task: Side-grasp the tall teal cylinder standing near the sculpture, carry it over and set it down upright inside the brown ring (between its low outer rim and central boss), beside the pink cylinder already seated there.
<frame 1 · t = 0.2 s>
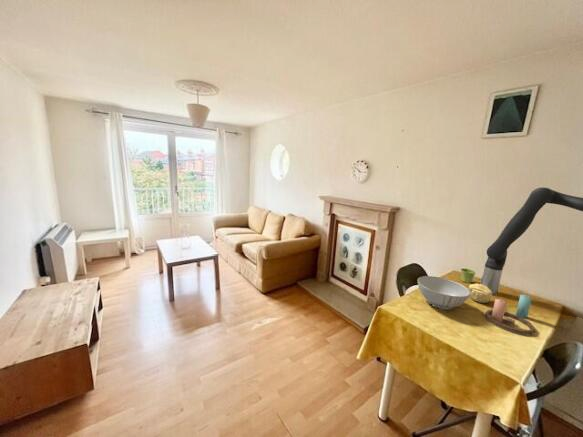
decorative bowl: (439, 304, 142), on the table
brown ring: (508, 323, 125), on the table
plant pot: (466, 281, 177), on the table
sculpture: (478, 300, 149), on the table
teal cylinder: (521, 316, 133), on the table
pink cylinder: (496, 321, 126), resting in brown ring
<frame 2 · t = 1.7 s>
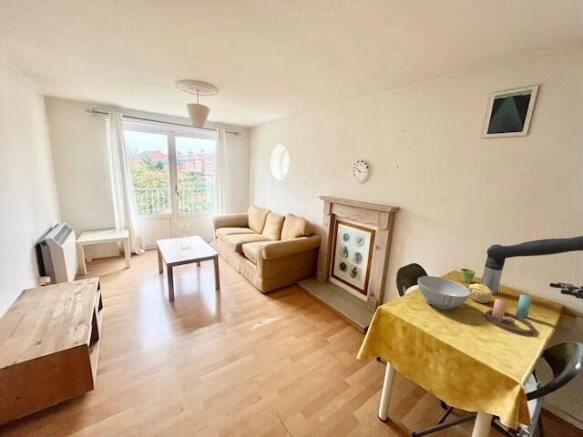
hand: (555, 288, 126), 20 cm above the table, tool horizontal, fingers open, 8 cm apart
nothing on the table moved.
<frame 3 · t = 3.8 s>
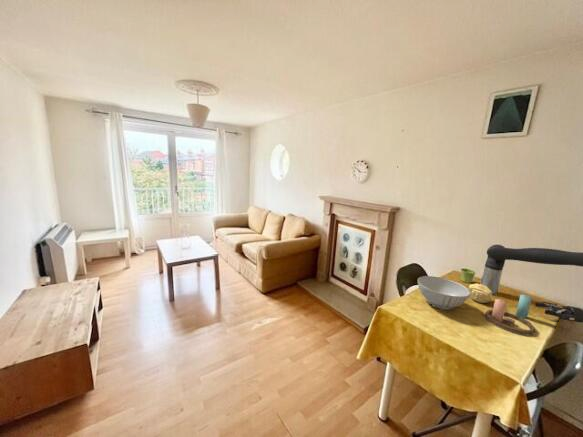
hand: (540, 307, 129), 7 cm above the table, tool horizontal, fingers open, 8 cm apart
nothing on the table moved.
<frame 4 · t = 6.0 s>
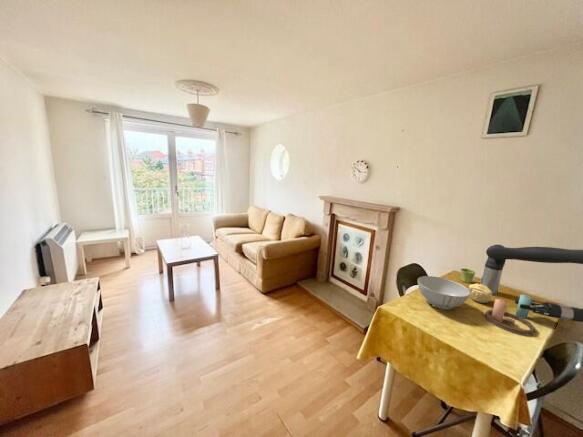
hand: (518, 303, 132), 7 cm above the table, tool horizontal, fingers closed on teal cylinder, 4 cm apart
teal cylinder: (521, 316, 133), on the table, touching gripper
everything else where it was.
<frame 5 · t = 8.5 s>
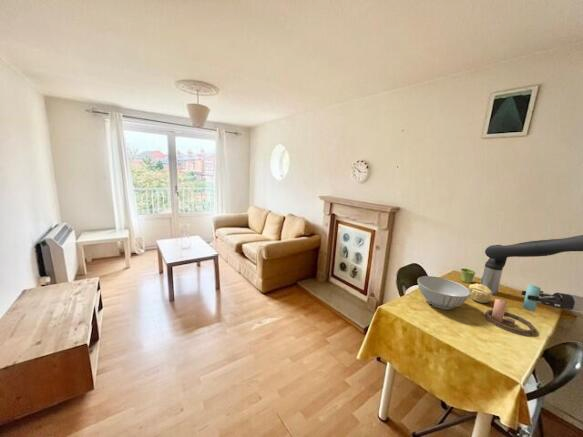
hand: (525, 295, 119), 18 cm above the table, tool horizontal, fingers closed on teal cylinder, 4 cm apart
teal cylinder: (528, 308, 120), point 11 cm above the table, touching gripper
everything else where it was.
when the fingers open (8 cm above the table, at t = 10.8 s): teal cylinder drops 1 cm, resting in brown ring.
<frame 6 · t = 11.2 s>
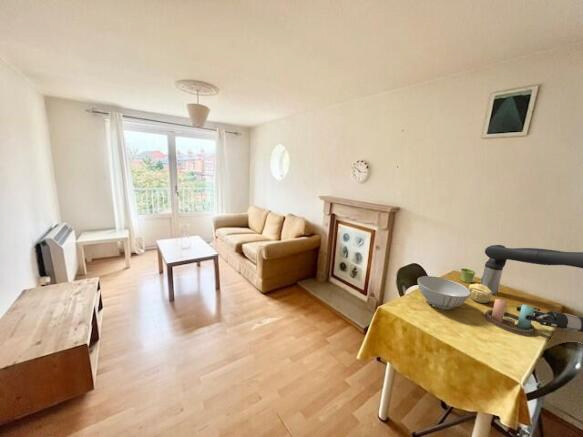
hand: (521, 312, 121), 8 cm above the table, tool horizontal, fingers open, 8 cm apart
teal cylinder: (522, 328, 121), resting in brown ring
everything else where it was.
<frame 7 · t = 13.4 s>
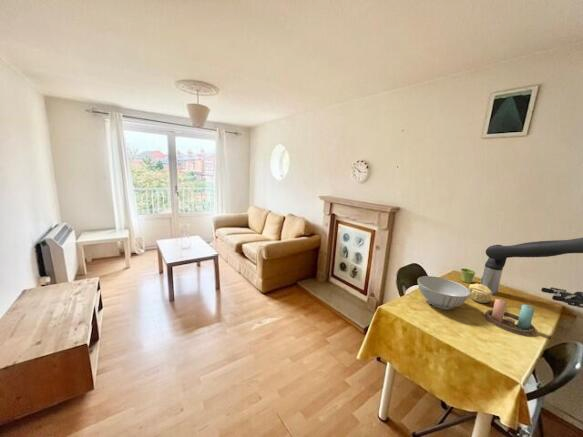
hand: (547, 293, 118), 20 cm above the table, tool horizontal, fingers open, 8 cm apart
nothing on the table moved.
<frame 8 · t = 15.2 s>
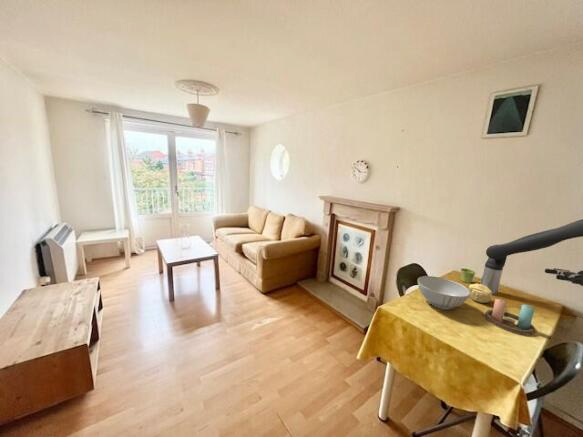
hand: (550, 273, 118), 30 cm above the table, tool horizontal, fingers open, 8 cm apart
nothing on the table moved.
at the end: teal cylinder inside the target area on the brown ring (0.1 cm from its centre), point 0.0 cm above the brown ring's base; teal cylinder tilted 0°; pink cylinder inside the target area on the brown ring (0.5 cm from its centre), point 0.0 cm above the brown ring's base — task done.
